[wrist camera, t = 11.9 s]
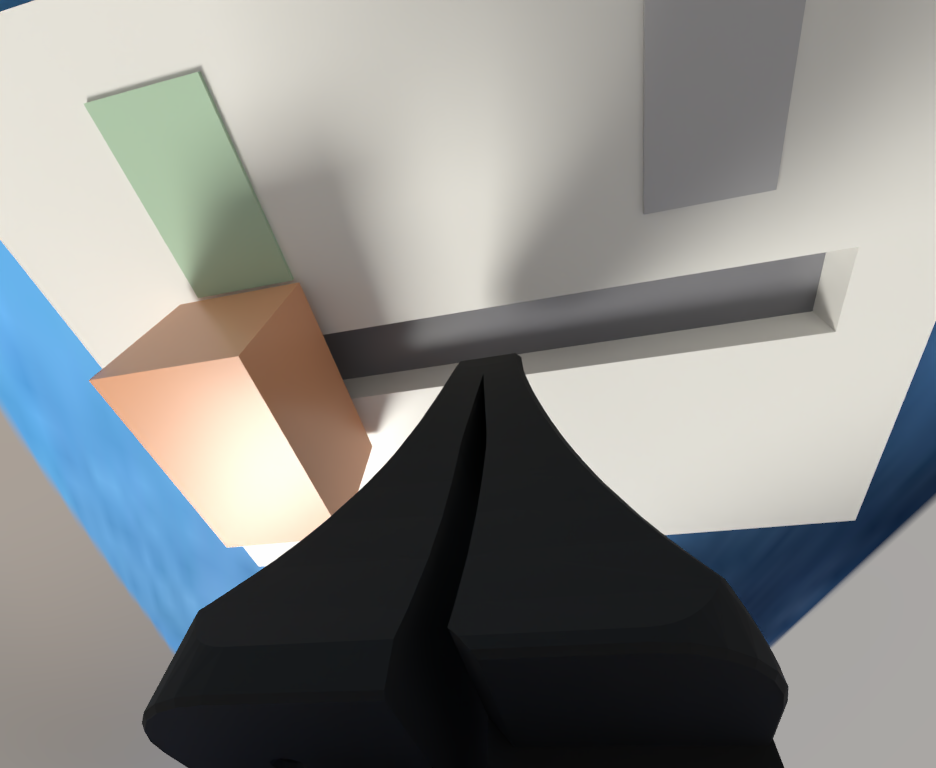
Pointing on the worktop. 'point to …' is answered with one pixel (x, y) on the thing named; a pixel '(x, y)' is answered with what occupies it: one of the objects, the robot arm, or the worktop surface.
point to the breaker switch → (244, 413)
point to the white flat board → (515, 213)
